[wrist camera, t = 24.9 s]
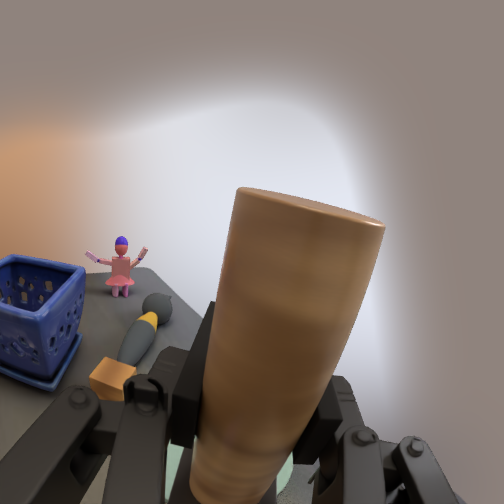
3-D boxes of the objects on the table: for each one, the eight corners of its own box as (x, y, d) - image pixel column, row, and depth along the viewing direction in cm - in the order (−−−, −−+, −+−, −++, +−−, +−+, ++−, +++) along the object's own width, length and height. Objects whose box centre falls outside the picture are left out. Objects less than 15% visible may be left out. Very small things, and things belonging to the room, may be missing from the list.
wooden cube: (137, 391, 28) (136, 367, 27) (125, 414, 24) (122, 390, 23) (107, 381, 28) (105, 356, 27) (93, 401, 24) (88, 376, 23)
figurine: (84, 289, 46) (85, 233, 44) (141, 288, 53) (146, 235, 51) (85, 298, 44) (85, 238, 41) (145, 296, 51) (150, 240, 48)
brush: (264, 477, 13) (370, 215, 9) (261, 542, 8) (458, 252, 4) (184, 463, 13) (224, 180, 9) (166, 527, 8) (175, 182, 4)
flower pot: (-21, 375, 18) (-49, 287, 15) (21, 324, 30) (11, 249, 27) (63, 411, 20) (39, 319, 17) (93, 344, 33) (89, 265, 30)
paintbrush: (149, 385, 29) (149, 354, 28) (111, 375, 29) (108, 343, 28) (175, 311, 48) (178, 286, 47) (149, 306, 48) (151, 281, 47)
